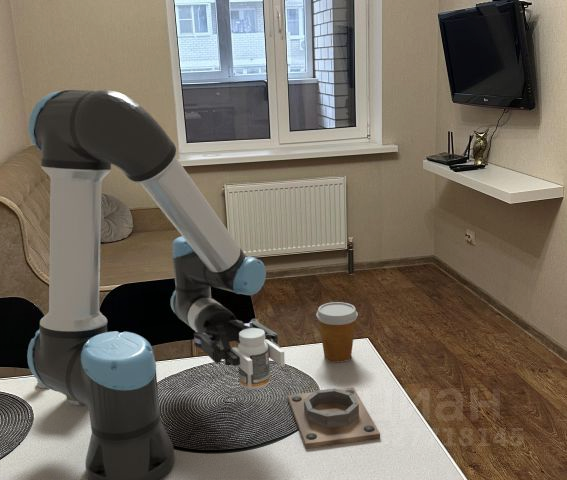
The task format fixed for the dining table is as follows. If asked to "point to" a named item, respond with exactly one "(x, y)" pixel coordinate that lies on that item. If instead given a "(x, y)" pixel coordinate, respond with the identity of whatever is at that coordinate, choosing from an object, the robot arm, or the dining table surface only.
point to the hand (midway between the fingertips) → (266, 363)
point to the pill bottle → (254, 358)
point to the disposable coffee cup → (337, 330)
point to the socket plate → (332, 417)
